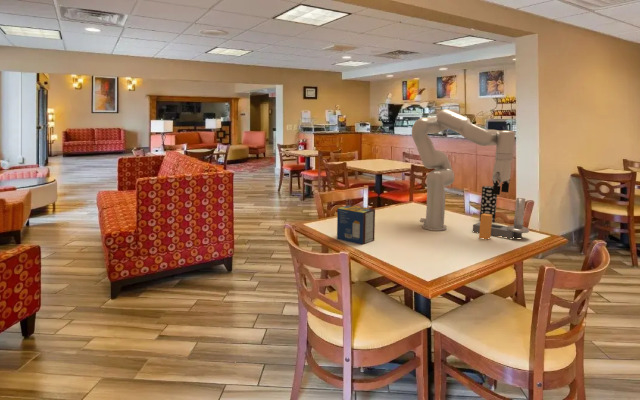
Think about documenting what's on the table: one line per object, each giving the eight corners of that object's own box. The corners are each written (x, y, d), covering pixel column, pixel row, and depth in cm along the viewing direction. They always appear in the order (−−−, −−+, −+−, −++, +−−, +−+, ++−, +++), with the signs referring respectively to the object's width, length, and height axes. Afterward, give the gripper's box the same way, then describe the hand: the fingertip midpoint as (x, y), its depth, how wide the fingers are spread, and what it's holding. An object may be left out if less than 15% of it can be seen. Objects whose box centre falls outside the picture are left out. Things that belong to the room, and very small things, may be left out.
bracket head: (472, 231, 221) (473, 224, 221) (480, 229, 228) (480, 221, 227) (511, 239, 207) (512, 231, 207) (518, 236, 214) (519, 228, 213)
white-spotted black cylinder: (488, 219, 252) (490, 185, 248) (498, 222, 244) (500, 187, 240) (476, 220, 249) (479, 186, 246) (486, 223, 241) (489, 188, 238)
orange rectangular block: (478, 238, 209) (480, 214, 207) (482, 236, 212) (484, 213, 210) (486, 239, 206) (488, 215, 204) (490, 238, 209) (492, 214, 207)
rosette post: (502, 238, 210) (506, 198, 206) (510, 234, 217) (514, 196, 213) (523, 242, 203) (527, 201, 199) (531, 238, 210) (535, 198, 206)
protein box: (348, 234, 214) (349, 204, 211) (374, 240, 204) (375, 208, 201) (336, 239, 206) (336, 207, 203) (362, 245, 196) (363, 212, 193)
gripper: (503, 155, 206) (500, 190, 209) (488, 157, 194) (484, 194, 198) (519, 156, 201) (515, 192, 204) (504, 158, 189) (500, 196, 192)
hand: (500, 193), depth 201 cm, fingers open, 9 cm apart
